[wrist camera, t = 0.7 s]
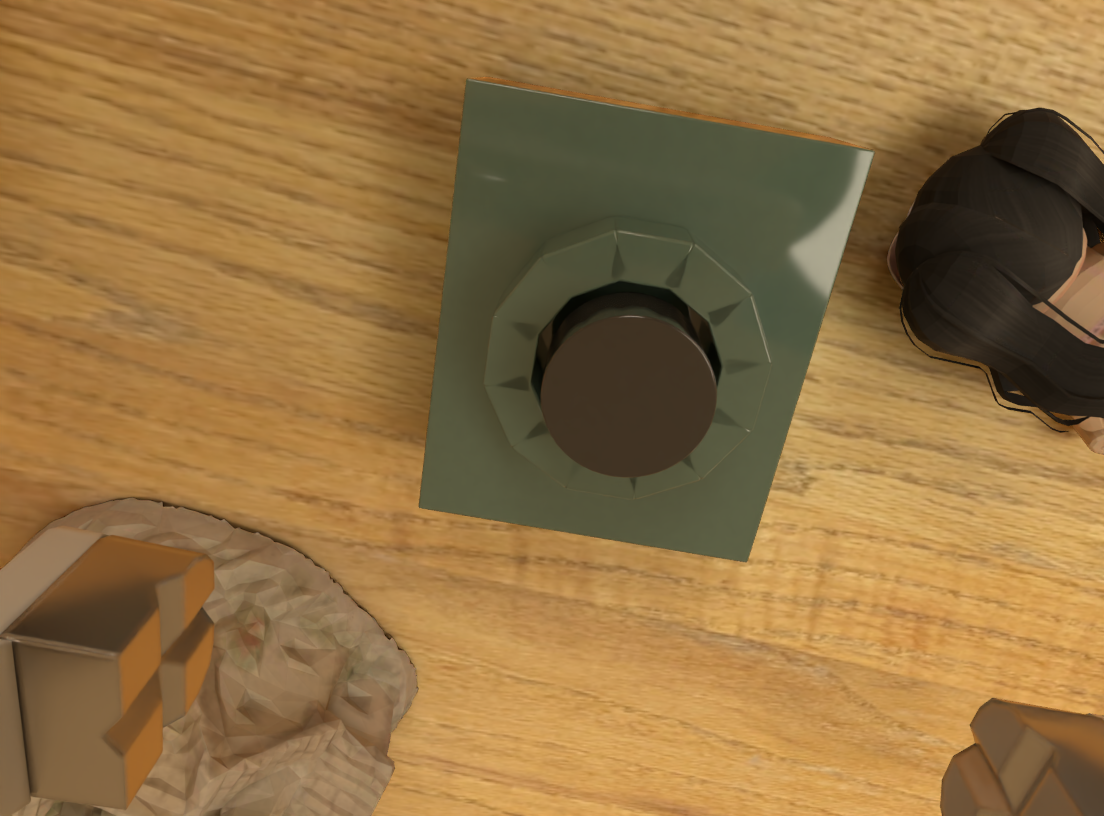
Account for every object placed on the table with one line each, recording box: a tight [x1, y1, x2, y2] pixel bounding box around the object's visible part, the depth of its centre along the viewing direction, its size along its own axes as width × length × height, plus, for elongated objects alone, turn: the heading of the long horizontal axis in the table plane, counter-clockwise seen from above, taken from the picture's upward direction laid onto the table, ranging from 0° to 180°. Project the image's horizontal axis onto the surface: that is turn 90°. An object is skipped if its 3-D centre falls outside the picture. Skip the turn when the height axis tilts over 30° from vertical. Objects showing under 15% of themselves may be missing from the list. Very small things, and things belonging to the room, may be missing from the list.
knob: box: [541, 292, 717, 478], centre depth 19 cm, size 4×4×2 cm
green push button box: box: [419, 77, 875, 562], centre depth 22 cm, size 12×10×6 cm
